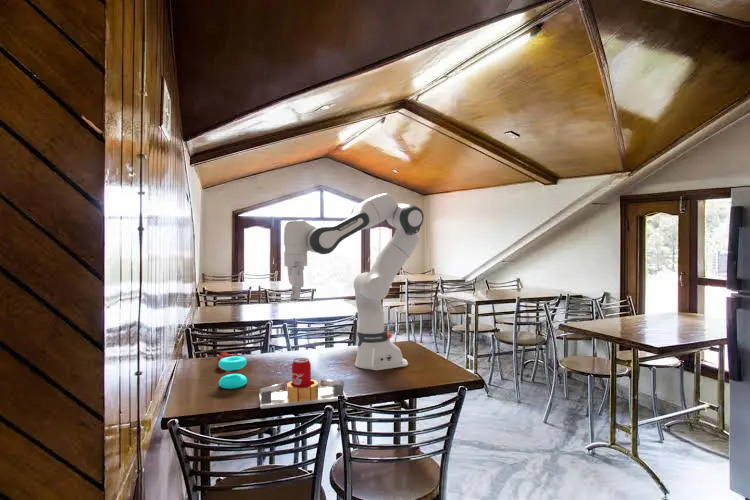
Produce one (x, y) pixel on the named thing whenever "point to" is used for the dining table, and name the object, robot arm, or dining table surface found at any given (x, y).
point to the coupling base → (301, 394)
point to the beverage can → (301, 372)
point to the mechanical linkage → (223, 355)
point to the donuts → (232, 379)
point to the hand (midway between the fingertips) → (296, 297)
